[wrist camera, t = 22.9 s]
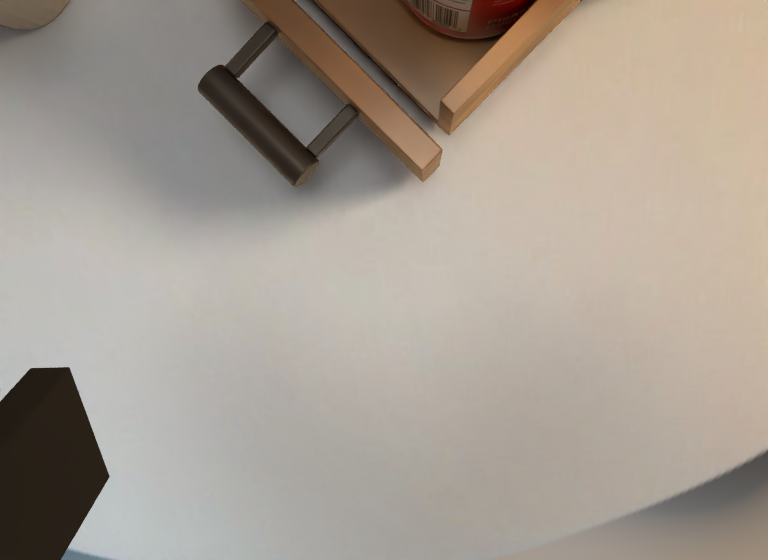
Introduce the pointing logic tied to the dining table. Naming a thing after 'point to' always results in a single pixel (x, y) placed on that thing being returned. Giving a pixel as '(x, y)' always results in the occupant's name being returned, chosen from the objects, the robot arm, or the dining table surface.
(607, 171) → the dining table surface
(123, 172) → the dining table surface
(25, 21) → the coffee cup
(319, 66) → the drawer
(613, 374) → the dining table surface
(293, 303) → the dining table surface
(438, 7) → the soda can
